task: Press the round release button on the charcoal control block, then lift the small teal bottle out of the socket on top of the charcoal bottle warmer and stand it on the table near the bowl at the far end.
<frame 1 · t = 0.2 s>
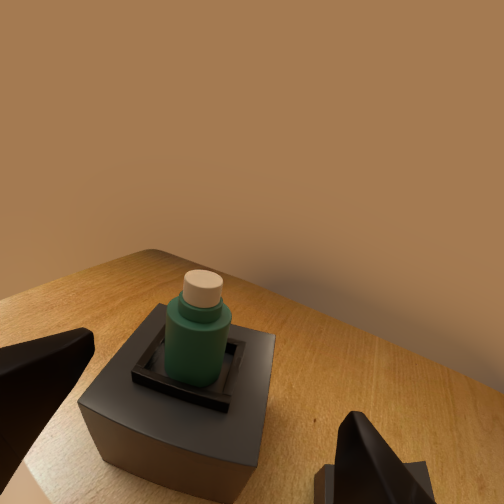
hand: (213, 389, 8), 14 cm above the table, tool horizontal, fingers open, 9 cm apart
bottle: (192, 367, 16), point 8 cm above the table, touching warmer
warmer: (186, 430, 19), on the table
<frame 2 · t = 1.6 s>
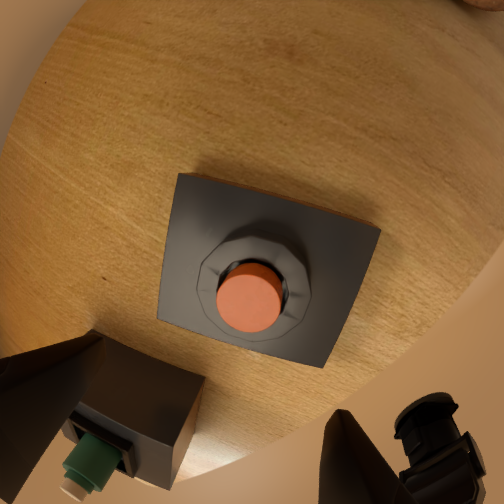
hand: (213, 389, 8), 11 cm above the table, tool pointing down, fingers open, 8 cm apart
bottle: (105, 443, 16), point 8 cm above the table, touching warmer
button: (250, 297, 14), point 4 cm above the table, slide at 0.1 cm
warmer: (142, 388, 24), on the table
control: (261, 268, 19), on the table
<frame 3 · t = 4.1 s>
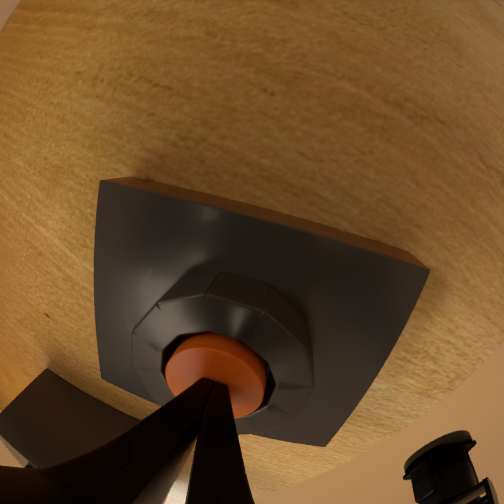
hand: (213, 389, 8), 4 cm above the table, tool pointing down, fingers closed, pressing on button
button: (219, 371, 9), point 3 cm above the table, slide at -0.9 cm, touching gripper
warmer: (110, 434, 18), on the table
control: (238, 320, 12), on the table
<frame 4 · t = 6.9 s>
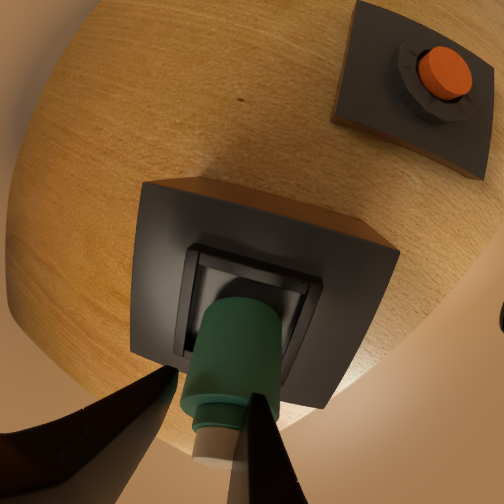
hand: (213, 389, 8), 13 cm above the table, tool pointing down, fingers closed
bottle: (242, 324, 12), point 9 cm above the table, tilted 19°, touching gripper, warmer
button: (445, 73, 11), point 4 cm above the table, slide at 0.1 cm
warmer: (262, 262, 21), on the table
control: (418, 89, 15), on the table
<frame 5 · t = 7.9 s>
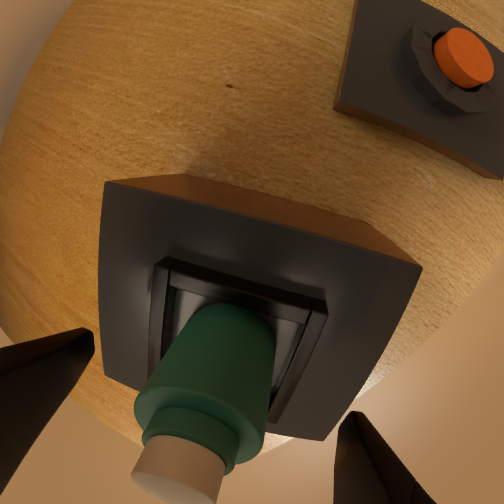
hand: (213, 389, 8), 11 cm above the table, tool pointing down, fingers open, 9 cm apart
bottle: (228, 343, 10), point 8 cm above the table, touching warmer
button: (464, 58, 8), point 4 cm above the table, slide at 0.1 cm
warmer: (254, 272, 18), on the table
control: (431, 77, 12), on the table
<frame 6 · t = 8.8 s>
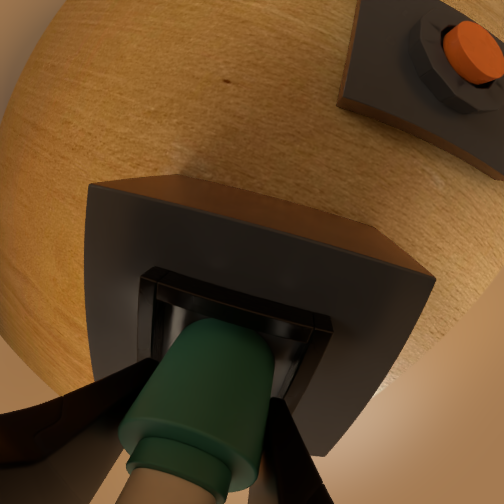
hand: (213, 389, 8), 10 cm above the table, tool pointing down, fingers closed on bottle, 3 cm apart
bottle: (223, 360, 9), point 8 cm above the table, touching gripper, warmer
button: (474, 53, 7), point 4 cm above the table, slide at 0.1 cm
warmer: (253, 278, 17), on the table
control: (438, 73, 11), on the table
when the fingers open (1 cm above the table, at t = 15.3 s): bottle stays where it is, on the table.
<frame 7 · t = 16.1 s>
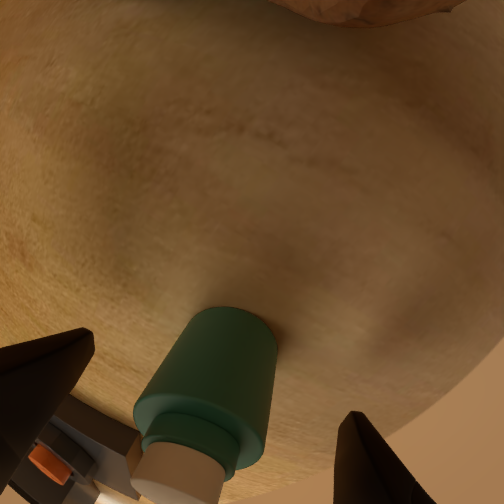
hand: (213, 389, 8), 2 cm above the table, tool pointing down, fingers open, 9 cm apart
bottle: (229, 347, 10), on the table
button: (50, 464, 11), point 4 cm above the table, slide at 0.1 cm
warmer: (55, 458, 21), on the table
control: (77, 428, 15), on the table
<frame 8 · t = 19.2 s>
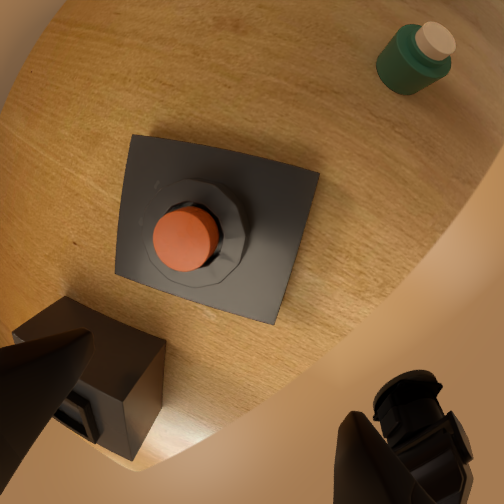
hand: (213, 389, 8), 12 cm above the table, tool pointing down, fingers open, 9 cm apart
bottle: (399, 71, 14), on the table
button: (186, 238, 15), point 4 cm above the table, slide at 0.1 cm
warmer: (111, 356, 24), on the table
control: (210, 222, 19), on the table
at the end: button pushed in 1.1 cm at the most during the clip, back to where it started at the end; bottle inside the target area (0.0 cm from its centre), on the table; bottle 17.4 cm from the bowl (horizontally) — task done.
